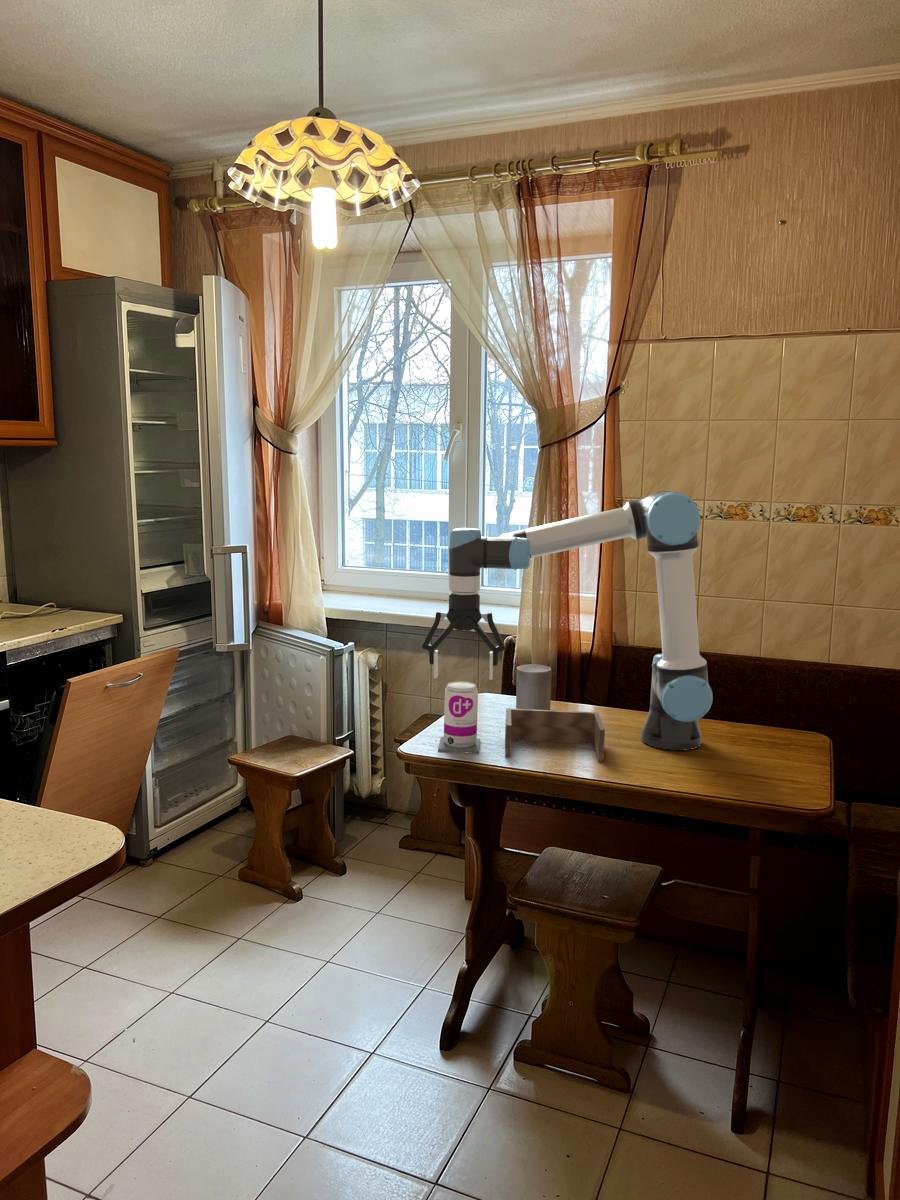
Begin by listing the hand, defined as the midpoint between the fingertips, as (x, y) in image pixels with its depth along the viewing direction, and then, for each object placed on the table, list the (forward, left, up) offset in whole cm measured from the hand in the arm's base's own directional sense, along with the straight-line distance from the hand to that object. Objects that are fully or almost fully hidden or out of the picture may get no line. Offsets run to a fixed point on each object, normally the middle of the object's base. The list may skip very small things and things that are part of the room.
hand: (463, 678), depth 220 cm
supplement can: (0, 0, -17) cm, 17 cm away
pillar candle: (-19, -31, -18) cm, 40 cm away
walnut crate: (-23, -1, -17) cm, 29 cm away
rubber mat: (0, 0, -17) cm, 17 cm away
